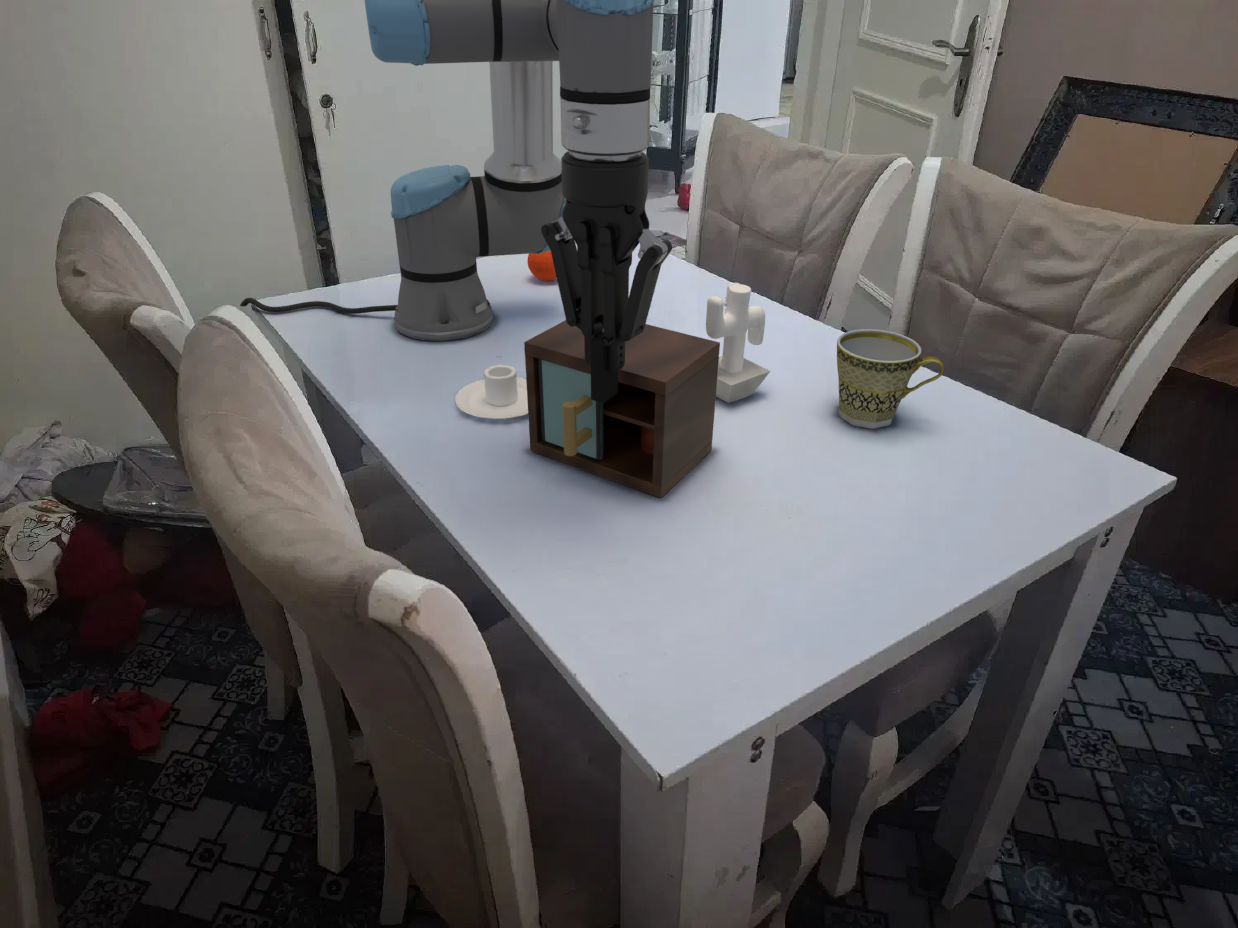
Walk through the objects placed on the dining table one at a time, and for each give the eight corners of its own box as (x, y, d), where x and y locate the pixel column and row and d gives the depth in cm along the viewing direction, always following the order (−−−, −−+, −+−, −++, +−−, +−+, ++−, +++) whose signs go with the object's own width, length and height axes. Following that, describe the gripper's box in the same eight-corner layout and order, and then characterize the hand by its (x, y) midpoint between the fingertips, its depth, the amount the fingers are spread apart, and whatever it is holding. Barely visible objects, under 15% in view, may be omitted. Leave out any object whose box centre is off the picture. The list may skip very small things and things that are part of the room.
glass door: (519, 455, 93) (513, 372, 87) (545, 437, 96) (541, 356, 91) (578, 477, 89) (576, 391, 83) (603, 457, 92) (602, 374, 87)
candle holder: (526, 429, 101) (524, 398, 99) (439, 415, 104) (435, 385, 102) (560, 388, 111) (559, 359, 109) (479, 376, 114) (477, 348, 112)
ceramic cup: (820, 427, 102) (832, 354, 97) (831, 393, 110) (842, 324, 105) (928, 446, 99) (947, 371, 93) (931, 410, 107) (948, 339, 101)
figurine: (773, 393, 110) (786, 286, 102) (722, 413, 106) (731, 302, 98) (736, 374, 115) (745, 271, 107) (685, 392, 110) (691, 285, 103)
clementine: (533, 271, 152) (531, 233, 149) (570, 272, 152) (569, 234, 148) (524, 285, 146) (522, 246, 142) (563, 287, 145) (562, 247, 141)
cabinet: (530, 451, 97) (523, 342, 90) (587, 411, 106) (586, 308, 98) (660, 498, 89) (665, 382, 81) (711, 451, 97) (720, 342, 90)
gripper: (517, 149, 70) (530, 393, 83) (647, 170, 64) (640, 429, 77) (568, 135, 75) (573, 366, 88) (693, 153, 70) (679, 398, 82)
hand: (604, 395), depth 83 cm, fingers closed
